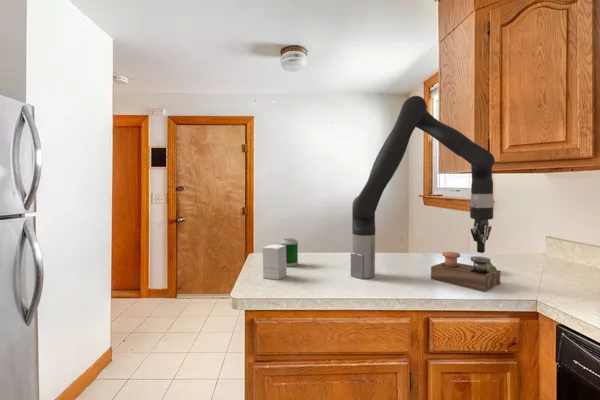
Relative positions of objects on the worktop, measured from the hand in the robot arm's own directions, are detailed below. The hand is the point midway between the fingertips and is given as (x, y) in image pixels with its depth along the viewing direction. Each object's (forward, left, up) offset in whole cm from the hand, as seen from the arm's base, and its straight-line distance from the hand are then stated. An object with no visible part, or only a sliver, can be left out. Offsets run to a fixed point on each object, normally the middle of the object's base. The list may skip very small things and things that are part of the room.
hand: (480, 252), depth 121 cm
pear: (+19, +5, -13) cm, 24 cm away
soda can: (-37, +69, -12) cm, 79 cm away
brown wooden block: (0, +6, -12) cm, 13 cm away
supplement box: (-53, +58, -13) cm, 79 cm away
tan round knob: (0, +11, -8) cm, 13 cm away
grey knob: (0, 0, -8) cm, 8 cm away
